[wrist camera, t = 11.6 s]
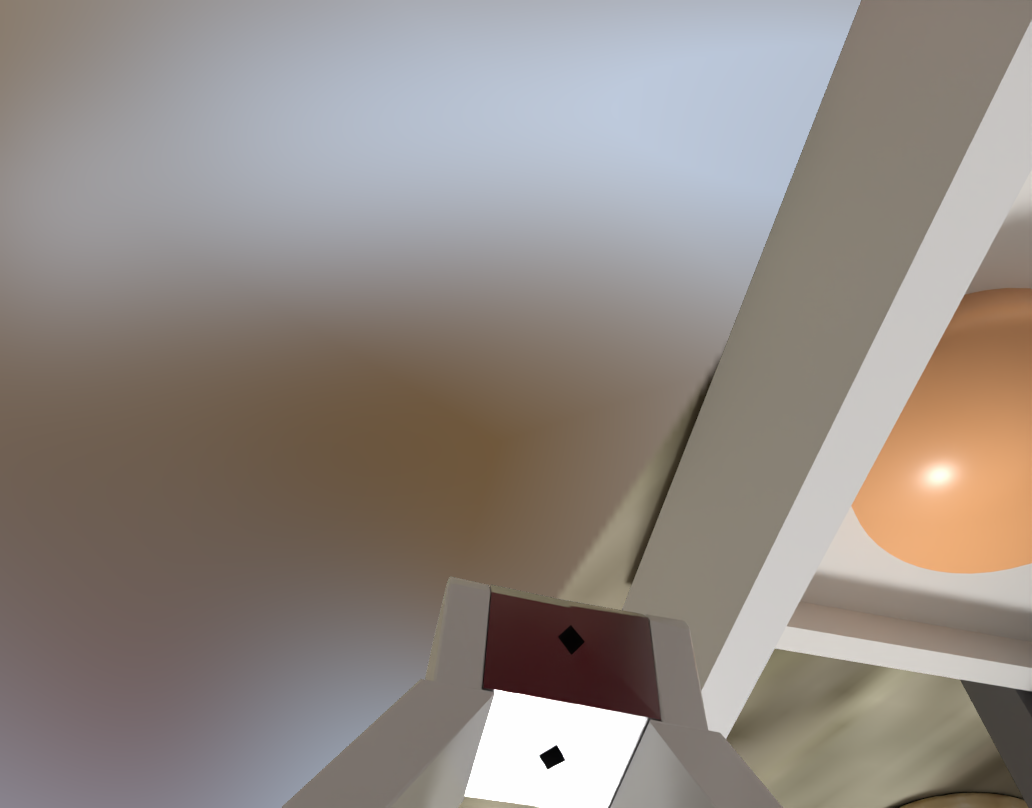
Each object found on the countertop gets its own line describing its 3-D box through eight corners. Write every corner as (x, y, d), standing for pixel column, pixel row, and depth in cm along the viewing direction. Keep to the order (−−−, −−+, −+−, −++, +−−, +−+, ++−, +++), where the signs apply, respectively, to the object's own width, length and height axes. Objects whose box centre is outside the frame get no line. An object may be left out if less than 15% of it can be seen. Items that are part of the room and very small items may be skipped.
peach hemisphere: (785, 503, 21) (803, 547, 20) (901, 260, 18) (932, 293, 16) (1030, 547, 22) (1064, 593, 20) (1186, 320, 18) (1239, 357, 17)
